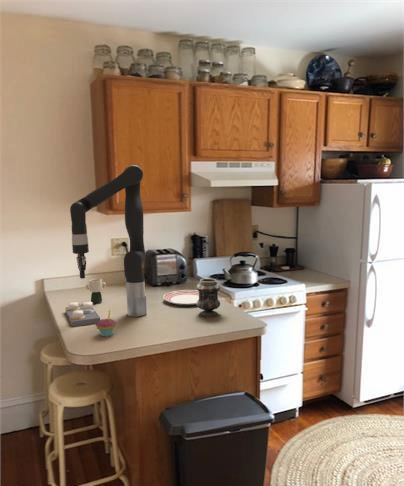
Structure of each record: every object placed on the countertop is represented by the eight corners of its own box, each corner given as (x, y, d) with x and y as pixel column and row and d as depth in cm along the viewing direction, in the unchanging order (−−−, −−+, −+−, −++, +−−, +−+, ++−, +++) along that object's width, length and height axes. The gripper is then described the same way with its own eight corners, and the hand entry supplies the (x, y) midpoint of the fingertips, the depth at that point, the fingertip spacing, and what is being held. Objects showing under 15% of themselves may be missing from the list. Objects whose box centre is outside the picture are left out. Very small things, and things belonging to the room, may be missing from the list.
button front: (84, 317, 203) (83, 312, 203) (73, 318, 201) (73, 313, 201) (82, 314, 207) (82, 309, 207) (72, 315, 205) (72, 310, 205)
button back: (79, 308, 217) (78, 304, 217) (69, 309, 215) (69, 305, 215) (77, 306, 222) (77, 301, 221) (68, 307, 220) (67, 302, 219)
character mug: (105, 299, 246) (104, 277, 244) (107, 302, 239) (106, 280, 237) (86, 301, 242) (85, 279, 240) (87, 305, 235) (86, 282, 233)
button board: (100, 322, 204) (100, 317, 203) (72, 326, 198) (72, 320, 198) (90, 309, 227) (90, 303, 227) (65, 312, 222) (65, 307, 222)
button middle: (93, 308, 212) (93, 303, 212) (83, 309, 210) (83, 304, 210) (91, 306, 217) (91, 301, 216) (82, 307, 215) (81, 302, 214)
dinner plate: (219, 304, 234) (219, 298, 233) (171, 310, 224) (171, 304, 223) (201, 293, 259) (200, 288, 259) (157, 298, 249) (157, 292, 249)
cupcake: (117, 331, 192) (116, 305, 190) (114, 337, 183) (113, 311, 182) (98, 331, 191) (97, 305, 190) (94, 338, 183) (93, 311, 181)
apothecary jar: (222, 311, 219) (222, 277, 217) (217, 318, 208) (216, 283, 206) (200, 310, 223) (199, 276, 220) (193, 317, 211) (193, 281, 209)
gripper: (90, 244, 201) (93, 279, 203) (85, 241, 213) (87, 275, 215) (74, 245, 197) (77, 281, 200) (70, 242, 209) (72, 276, 212)
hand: (82, 278), depth 207 cm, fingers closed
